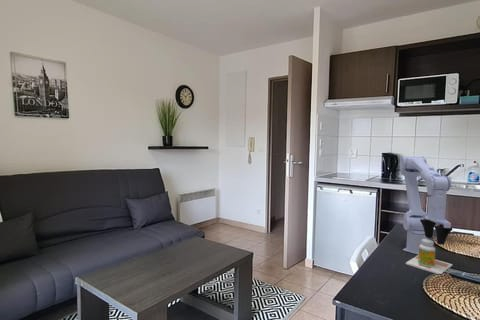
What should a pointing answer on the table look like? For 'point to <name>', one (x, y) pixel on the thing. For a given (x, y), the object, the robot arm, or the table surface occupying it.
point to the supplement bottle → (427, 253)
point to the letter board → (437, 269)
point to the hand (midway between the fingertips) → (434, 240)
